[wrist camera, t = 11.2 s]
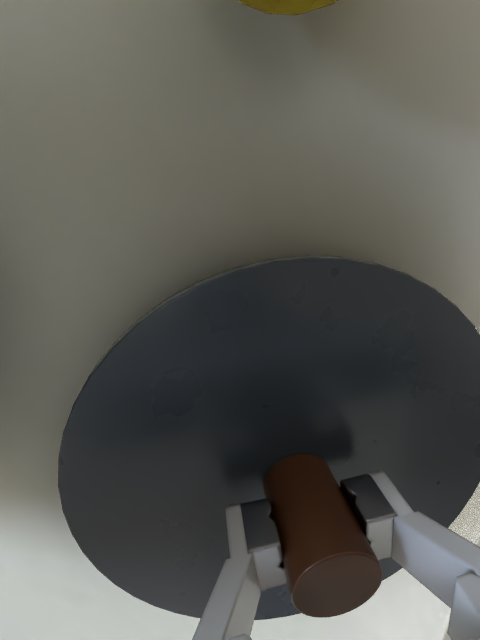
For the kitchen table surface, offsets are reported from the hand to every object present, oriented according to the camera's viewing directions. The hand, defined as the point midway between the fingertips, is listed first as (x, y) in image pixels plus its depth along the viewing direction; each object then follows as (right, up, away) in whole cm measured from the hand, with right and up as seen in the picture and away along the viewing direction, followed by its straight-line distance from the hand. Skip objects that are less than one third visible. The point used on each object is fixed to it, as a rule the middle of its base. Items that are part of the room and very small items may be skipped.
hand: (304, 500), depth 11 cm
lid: (0, 0, +1) cm, 1 cm away
